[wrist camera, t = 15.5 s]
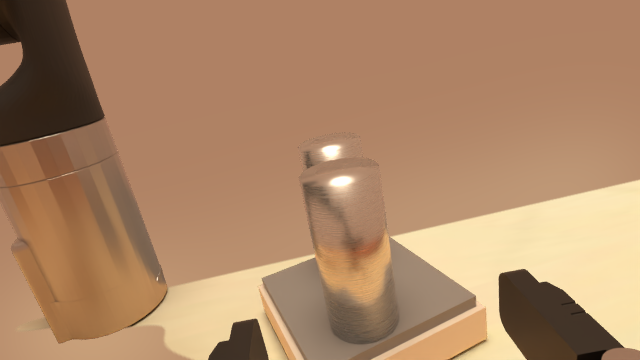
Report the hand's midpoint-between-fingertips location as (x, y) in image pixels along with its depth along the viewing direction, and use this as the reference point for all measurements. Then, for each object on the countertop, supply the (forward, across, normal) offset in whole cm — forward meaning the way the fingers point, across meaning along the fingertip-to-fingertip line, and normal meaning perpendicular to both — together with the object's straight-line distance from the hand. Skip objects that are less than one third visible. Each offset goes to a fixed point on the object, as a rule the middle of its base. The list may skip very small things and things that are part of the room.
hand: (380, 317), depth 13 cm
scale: (+13, 0, +12) cm, 18 cm away
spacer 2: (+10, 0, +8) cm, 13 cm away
